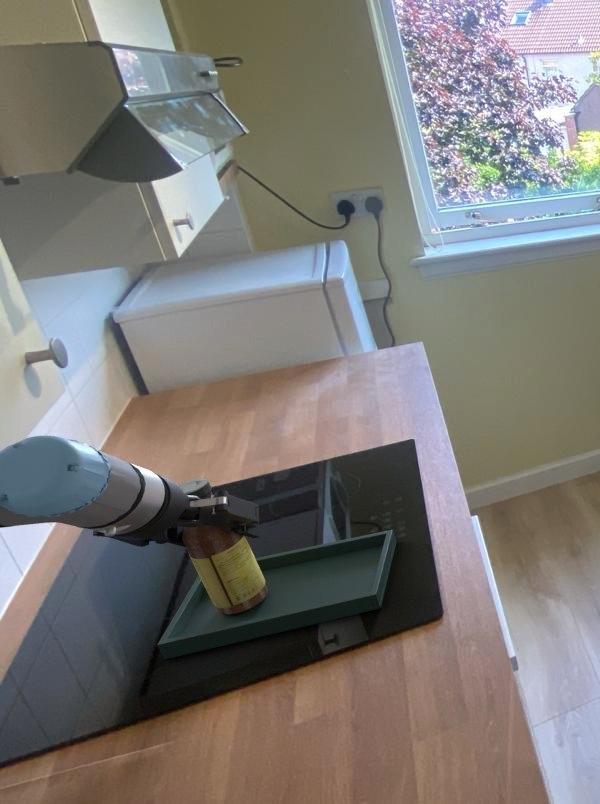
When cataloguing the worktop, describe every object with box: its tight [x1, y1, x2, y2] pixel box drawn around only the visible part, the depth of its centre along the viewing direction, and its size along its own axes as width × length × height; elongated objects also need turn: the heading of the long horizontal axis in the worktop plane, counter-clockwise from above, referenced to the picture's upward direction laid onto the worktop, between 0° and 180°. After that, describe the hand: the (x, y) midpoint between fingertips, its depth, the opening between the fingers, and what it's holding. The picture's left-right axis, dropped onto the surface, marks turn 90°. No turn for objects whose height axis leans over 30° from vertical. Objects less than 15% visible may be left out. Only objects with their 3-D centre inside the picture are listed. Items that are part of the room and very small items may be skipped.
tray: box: [157, 529, 397, 660], centre depth 106 cm, size 26×16×3 cm, turn 109°
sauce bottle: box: [177, 478, 268, 615], centre depth 100 cm, size 7×6×20 cm
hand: (228, 534), depth 104 cm, fingers closed on sauce bottle, 6 cm apart
